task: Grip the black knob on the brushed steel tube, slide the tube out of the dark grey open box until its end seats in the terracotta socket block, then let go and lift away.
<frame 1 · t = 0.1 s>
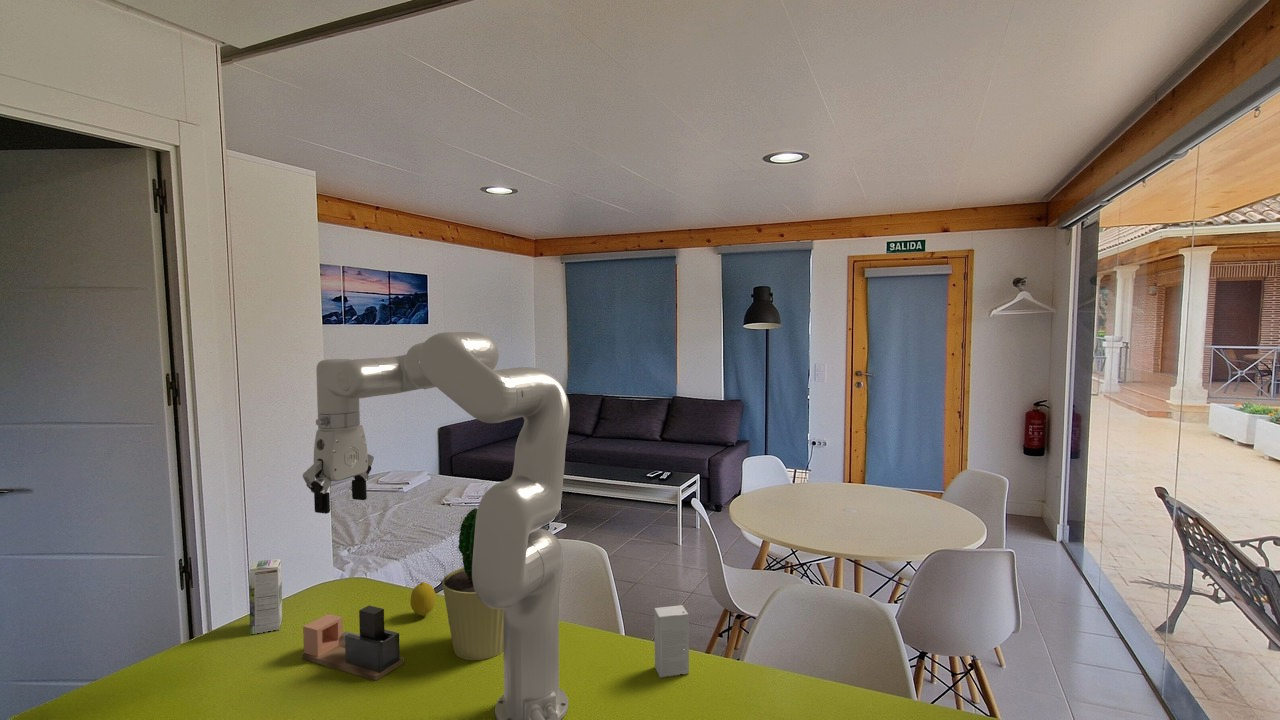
hand: (341, 505, 125), 31 cm above the table, tool pointing down, fingers open, 9 cm apart
potted cactus: (481, 647, 131), on the table
socket block: (323, 652, 129), resting on base board
base board: (352, 660, 126), on the table
syrup box: (267, 628, 140), on the table
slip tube: (364, 630, 124), point 7 cm above the table, slide at 0.0 cm
lemon: (423, 616, 145), on the table
skincare box: (671, 671, 122), on the table
dark grey open box: (372, 666, 123), resting on base board
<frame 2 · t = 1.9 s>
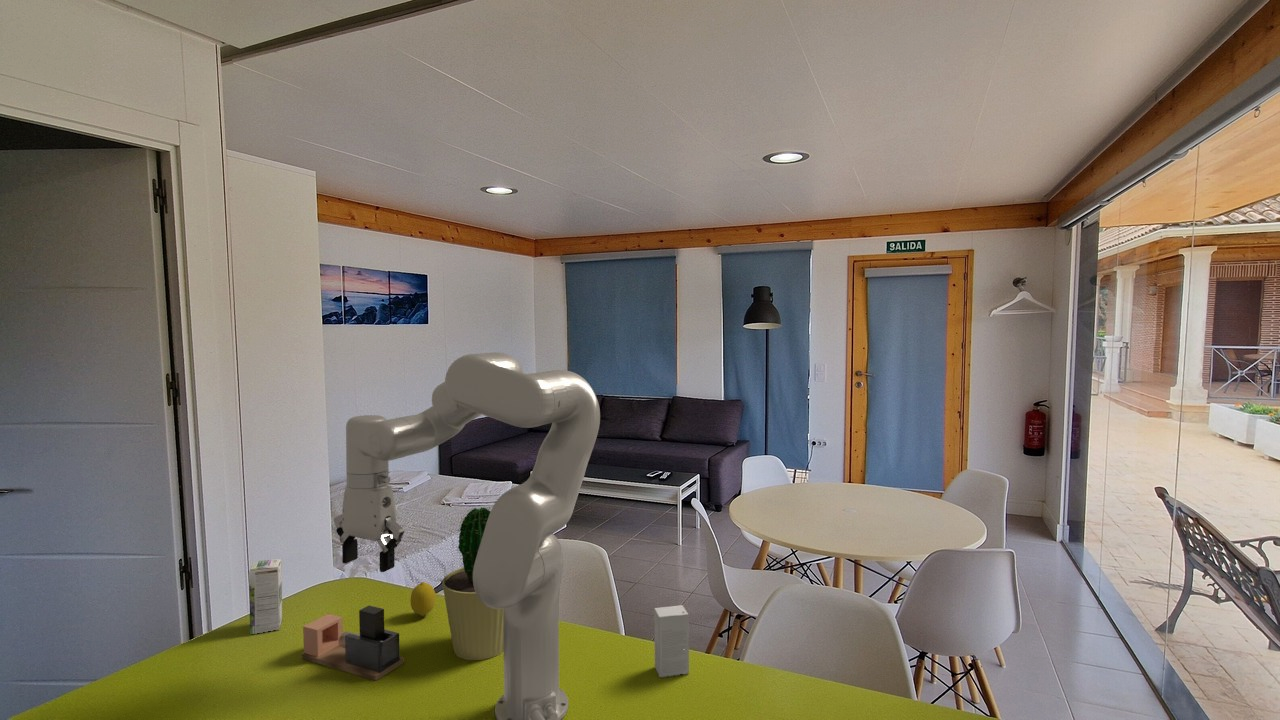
hand: (368, 565, 123), 20 cm above the table, tool pointing down, fingers open, 9 cm apart
nothing on the table moved.
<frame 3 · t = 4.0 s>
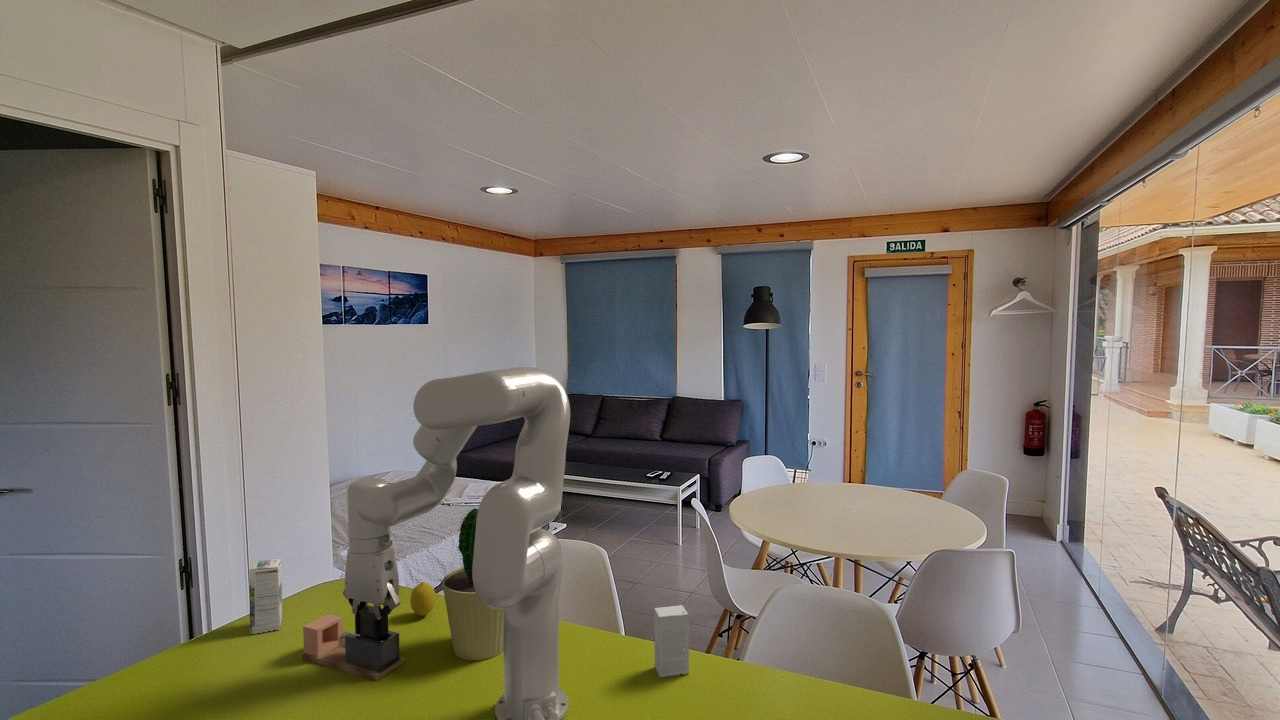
hand: (371, 632, 123), 7 cm above the table, tool pointing down, fingers closed on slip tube, 4 cm apart
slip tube: (364, 630, 124), point 7 cm above the table, slide at 0.0 cm, touching gripper
everything else where it was.
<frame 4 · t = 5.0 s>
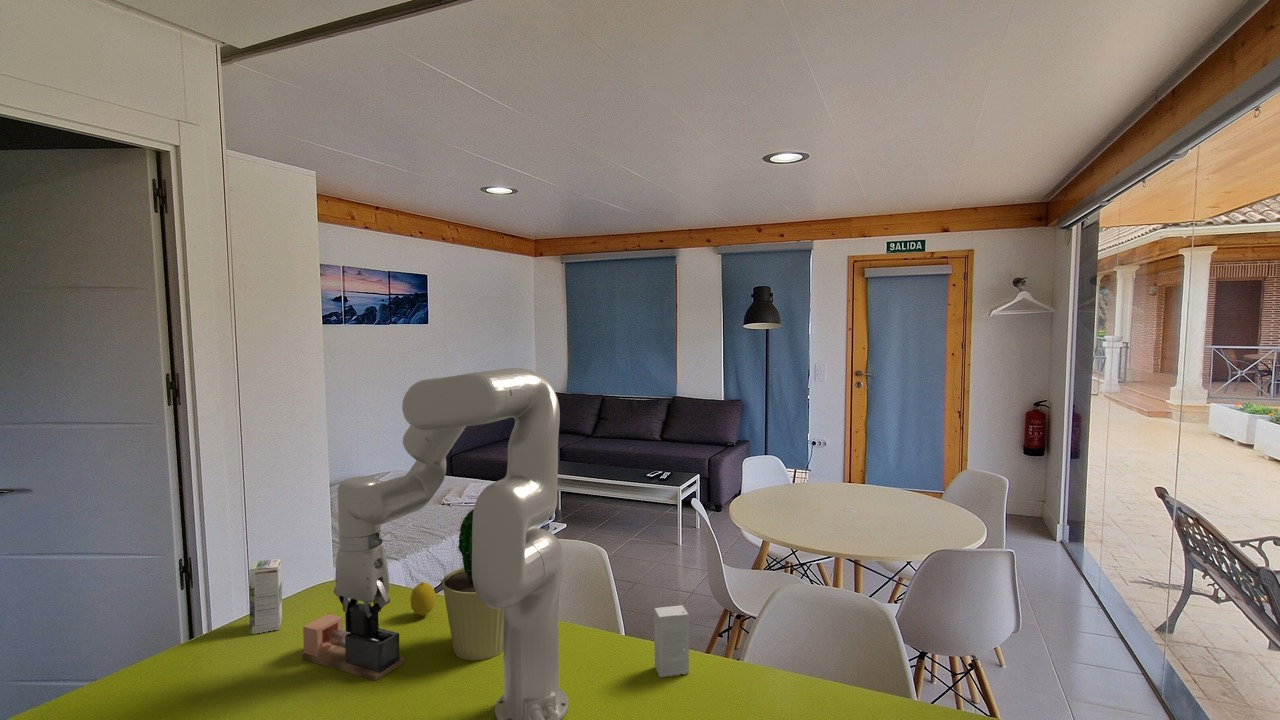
hand: (362, 630, 124), 7 cm above the table, tool pointing down, fingers closed on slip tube, 4 cm apart
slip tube: (355, 627, 125), point 7 cm above the table, slide at 2.6 cm, touching gripper
everything else where it was.
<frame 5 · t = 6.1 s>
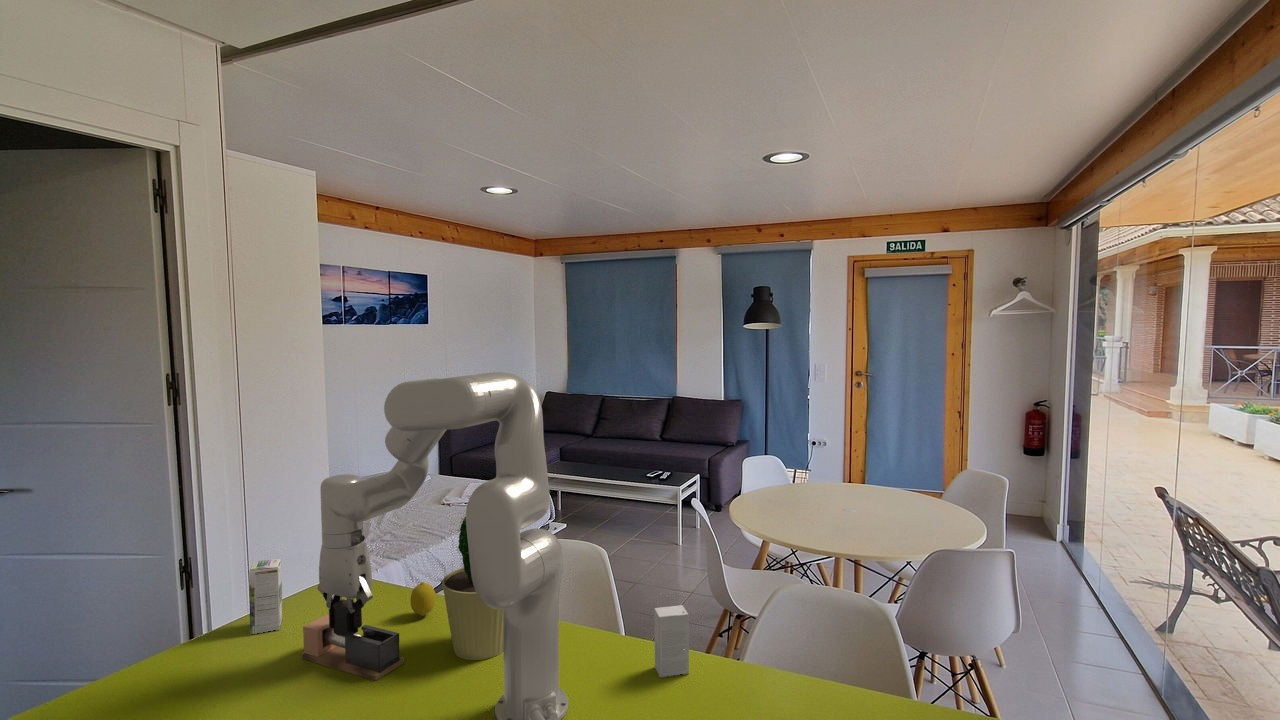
hand: (345, 626, 126), 7 cm above the table, tool pointing down, fingers closed on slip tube, 4 cm apart
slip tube: (338, 623, 127), point 7 cm above the table, slide at 7.1 cm, touching gripper
everything else where it was.
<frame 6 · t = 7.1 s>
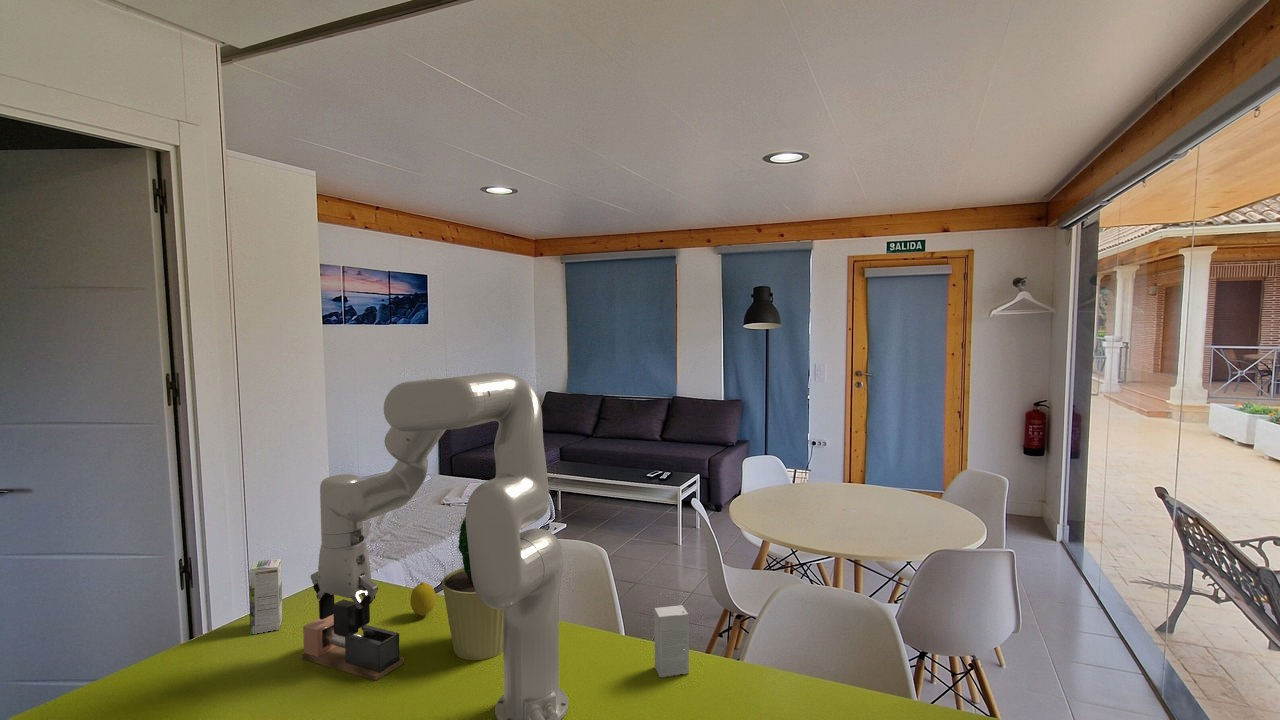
hand: (344, 621, 126), 8 cm above the table, tool pointing down, fingers open, 9 cm apart
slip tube: (339, 623, 127), point 7 cm above the table, slide at 7.0 cm
everything else where it was.
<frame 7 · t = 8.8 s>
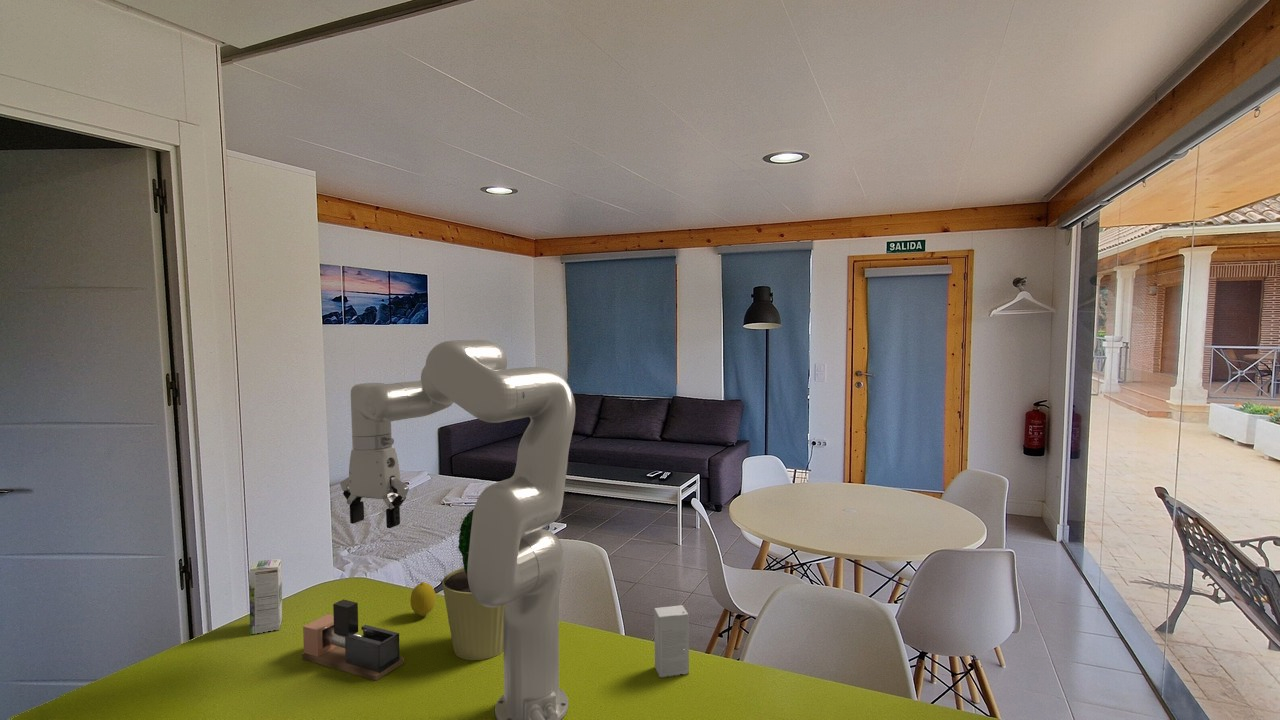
hand: (375, 524, 130), 26 cm above the table, tool pointing down, fingers open, 9 cm apart
nothing on the table moved.
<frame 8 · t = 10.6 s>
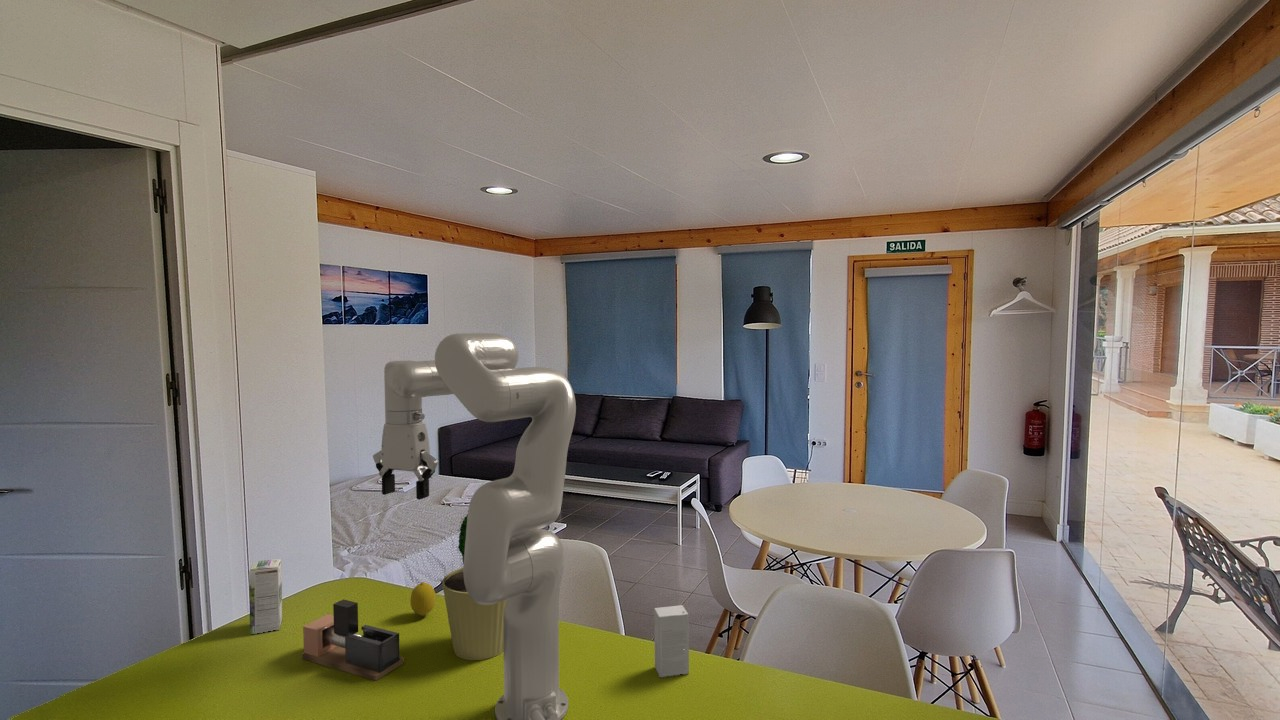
hand: (405, 495, 136), 30 cm above the table, tool pointing down, fingers open, 9 cm apart
nothing on the table moved.
at the end: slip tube slide at 7.0 cm; the gripper is holding nothing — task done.
